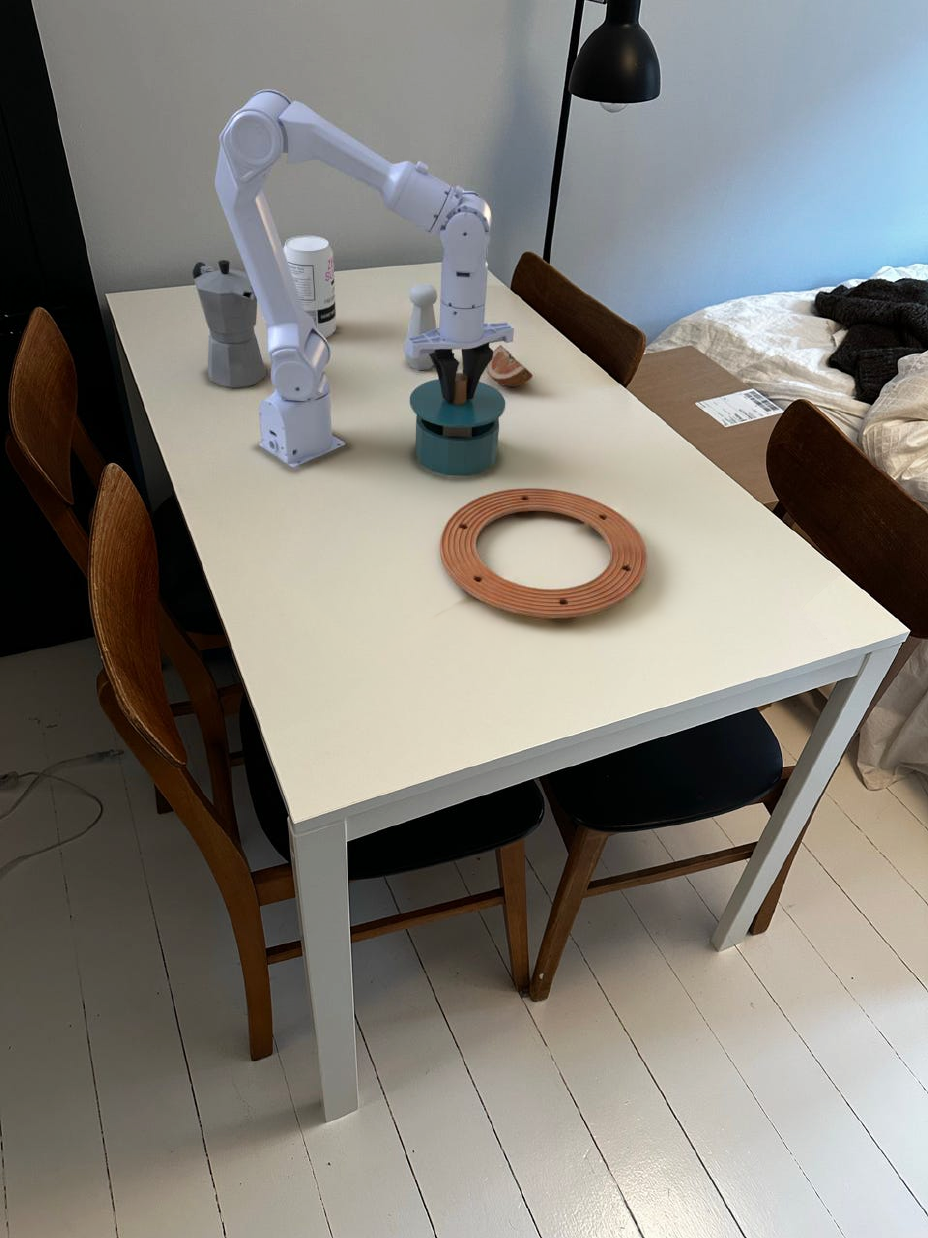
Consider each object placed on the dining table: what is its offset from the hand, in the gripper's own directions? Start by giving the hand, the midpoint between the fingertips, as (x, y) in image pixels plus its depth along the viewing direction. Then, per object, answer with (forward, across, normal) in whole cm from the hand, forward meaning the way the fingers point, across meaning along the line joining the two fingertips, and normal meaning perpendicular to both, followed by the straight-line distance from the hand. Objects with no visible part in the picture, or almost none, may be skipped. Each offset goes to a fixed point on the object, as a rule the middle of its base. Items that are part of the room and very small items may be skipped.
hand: (457, 397), depth 126 cm
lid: (+1, 0, 0) cm, 1 cm away
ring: (+10, 0, +26) cm, 27 cm away
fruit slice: (+10, -18, -17) cm, 26 cm away
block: (+9, 0, 0) cm, 9 cm away
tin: (+9, 0, 0) cm, 9 cm away
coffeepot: (+10, +22, -36) cm, 43 cm away
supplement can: (+10, +5, -46) cm, 47 cm away
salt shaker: (+10, -7, -28) cm, 31 cm away
